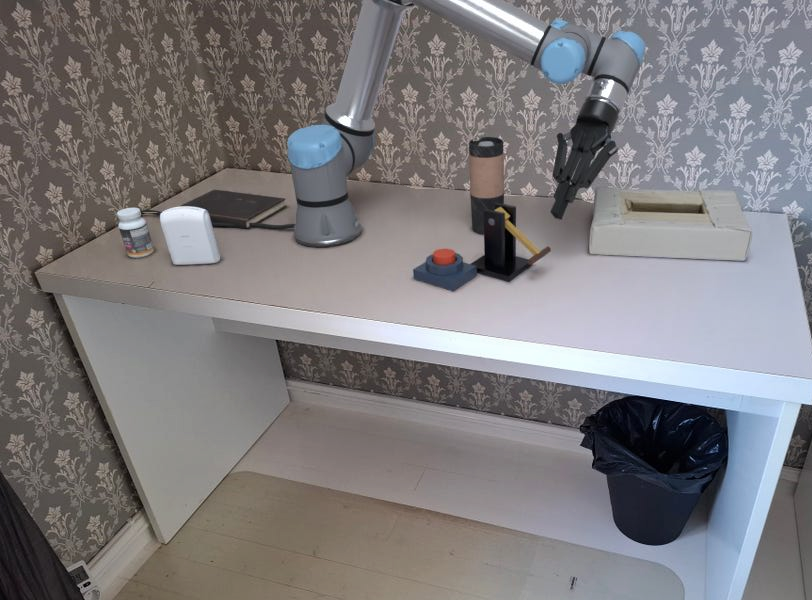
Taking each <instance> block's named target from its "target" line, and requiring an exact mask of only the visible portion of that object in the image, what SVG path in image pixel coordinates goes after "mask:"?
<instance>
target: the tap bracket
mask: <svg viewBox="0 0 812 600" xmlns="http://www.w3.org/2000/svg"><path fill="white" fill-rule="evenodd" d="M499 207H502V208H503V209H504V210H505V211H506V212H507V213H508V214H509V215H510V218H509V219H508V220H509V221H510V222H511V223H512V224H513V225H514V226H515V227H516V228H517V206H515V205H510V204H506V203H504V204H502V203H496V204H495V209H497V208H499ZM483 247H484V249H483V252H484V253H483V255H482V256H480V257H479V258H477V259H475V260H473V261H472V262H471V263H470V264H471V265H475V266H477V274H479V275H482V276H483V275H484V276H487V277H490V278H493V279H497V280H501V281H503V282H508V283H509V282H511V281H513V280H514V279H516V278H517V277H518V276H519V275H521V274H523V273H524V272H525V271H526V270H528V269H529V268H531V267H532V266H533V264H532V265H529V264H528V259H529V258H525V257H522V256H517V248H516V247H517V238H516V237H515V236H514V235H513V234H511V233H510V232H509V231H508V230H507V229H506V228H505V213H502V212H498V211H493V210H489V209H485V210H484V234H483Z"/></svg>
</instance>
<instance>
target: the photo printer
mask: <svg viewBox="0 0 812 600" xmlns="http://www.w3.org/2000/svg"><path fill="white" fill-rule="evenodd" d="M179 206H180V207H179ZM179 206H175V207H170V208H167V209H165V210H162V211H161V212H162V213H161V214H160V215H159V221H160V225H161V229H162V232H163V236H164V239H165V243H166V245H167V249H168V252H169V256H170V258H171V261H172V264H173V265H174V266H175V265H176V266H177V265H180V266H181V265H182V266H185V265H205V264H217V263H218V262H220V260H221V253H220V250H219V246H218V242H217V238H216V234H215V231H214V226H212V223H211V219H210V216H209V213H208V211H207V210H205V209H202V208H198V207H191V206H181V205H179Z"/></svg>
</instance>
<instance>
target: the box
mask: <svg viewBox="0 0 812 600" xmlns="http://www.w3.org/2000/svg"><path fill="white" fill-rule="evenodd" d="M589 228H590V230H589V237H588V238H589V241H588V253H589V254H590V255H597V256H598V255H601V256H623V257H625V256H626V257H643V258H644V257H646V258H647V257H648V258H666V259H667V258H668V259H669V258H670V259H691V260H692V259H693V260H711V261H712V260H714V261H715V260H716V261H735V262H736V261H738V262H739V261H740V262H744V261H746V260H747V257H748V254H749V251H750V248H751V244H752V239H753V230H752V229H751V227H750V226H749V223H748V221H747V218H746V216H745V214H744V211H743V209H742V206H741V203H740V201H739V199H738V195H737V192H736V191H734V190H728V189H727V190H726V189H720V190H719V189H717V190H716V189H715V190H714V189H712V190H709V189H701V188H700V189H698V190H677V189H676V190H672V189H671V190H670V189H647V188H646V189H643V188H620V187H618V186H617V187H615V186H614V187H613V186H611V187H610V186H597V187H595V189H594V196H593V217H592V222H591V224H590V227H589Z"/></svg>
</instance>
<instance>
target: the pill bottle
mask: <svg viewBox="0 0 812 600" xmlns="http://www.w3.org/2000/svg"><path fill="white" fill-rule="evenodd" d="M116 215H117V218H118V220H119V223H118V225H117V226H118V230H119V233H120V236H121V239H122V243H123V245H124V248H125V252H126V254H127V256H128V257H130V258H135V259H137V258H144V257H148V256H149V255H151V254H152V253H154V251H155V247H154V244H153V240H152V237H151V234H150V230H149V227H148V224H147V221H146V220H145V218H144V217H142V216H141V210H140V208H138V207H127V208H126V207H125V208H123V209H120V210H118V211H117V212H116Z"/></svg>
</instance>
